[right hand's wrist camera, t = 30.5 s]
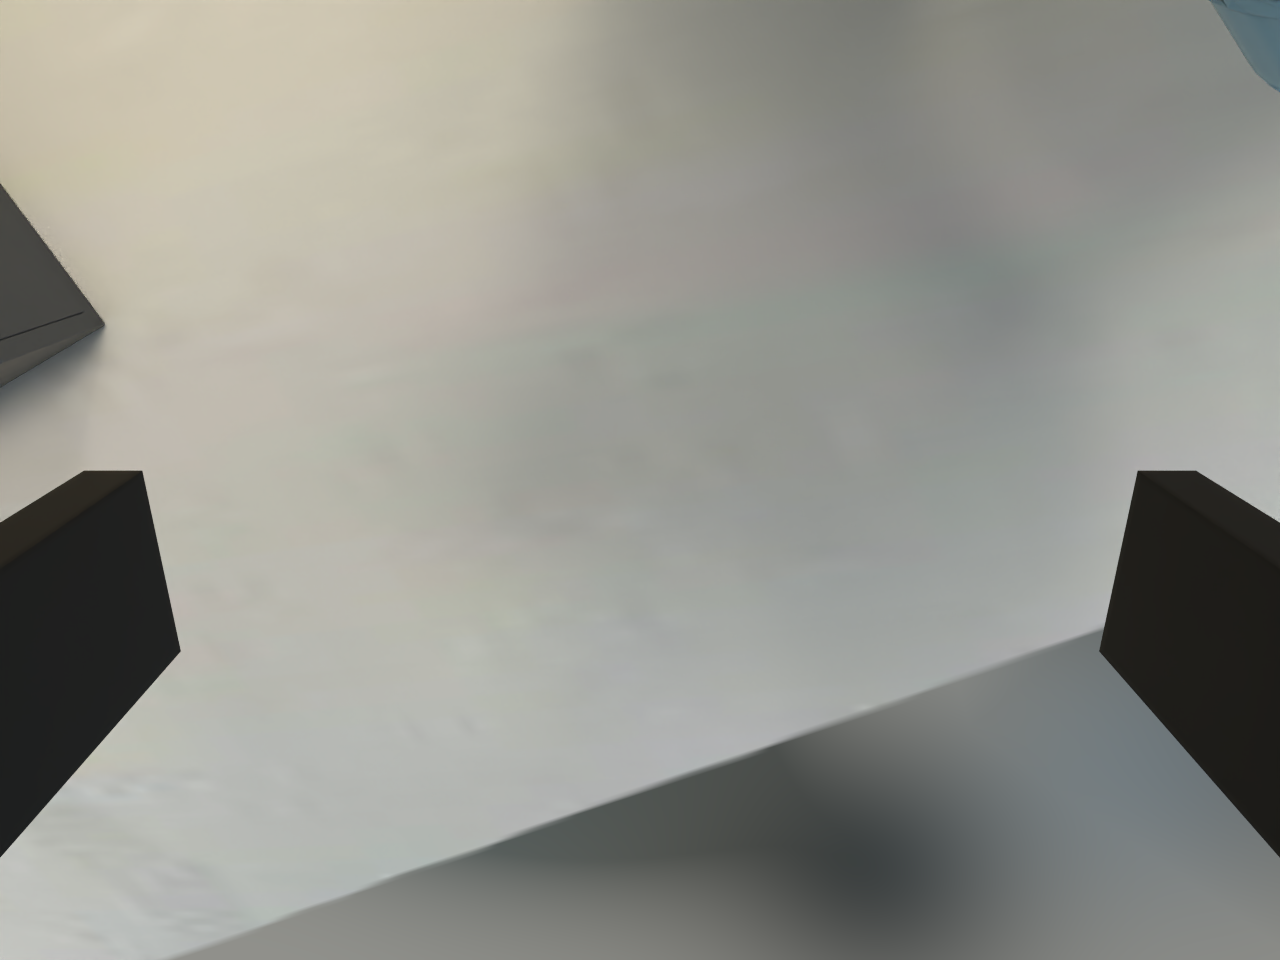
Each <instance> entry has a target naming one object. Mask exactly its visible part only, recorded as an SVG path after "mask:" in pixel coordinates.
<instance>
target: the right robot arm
mask: <svg viewBox="0 0 1280 960" xmlns="http://www.w3.org/2000/svg"><path fill="white" fill-rule="evenodd" d="M1209 1H1211V3H1212V4H1213V6H1214V8H1215V9H1216V11H1217V13H1218V14H1219V16H1220V17H1221V19H1222V21H1223V22H1224V24H1225V25H1226V27H1227V29H1228V30H1229V32H1230V34H1231V35H1232V37H1233V38H1234V40H1235V42H1236V43H1237V45H1238V47H1239V48H1240V50H1241V51H1242V53H1243V55H1244V56H1245V58H1246V59H1247V61H1248V63H1249V64H1250V66H1251V67H1252V68H1253V70H1254V71H1255V73H1256V74H1257V75H1258V76H1259V77H1261V78H1262V79H1263V80H1264V81H1265V82H1266V83H1267V84H1268V85H1269V86H1271V87H1272V88H1274V89H1275V90H1277V91H1279V92H1280V0H1209ZM180 651H181V650H180V646H179V641H178V636H177V632H176V627H175V622H174V617H173V613H172V608H171V603H170V599H169V594H168V589H167V585H166V580H165V575H164V571H163V566H162V561H161V556H160V552H159V547H158V542H157V538H156V533H155V528H154V524H153V519H152V514H151V510H150V505H149V500H148V496H147V491H146V486H145V481H144V477H143V472H142V471H83V472H81V473H80V474H78V475H76V476H75V477H73V478H72V479H70V480H68V481H67V482H65V483H64V484H62V485H60V486H59V487H57V488H55V489H54V490H52V491H51V492H49V493H47V494H46V495H44V496H43V497H41V498H39V499H38V500H36V501H34V502H33V503H31V504H30V505H28V506H26V507H25V508H23V509H22V510H20V511H18V512H17V513H15V514H13V515H12V516H10V517H9V518H7V519H5V520H4V521H2V522H1V523H0V857H1V856H2V855H3V854H4V853H5V851H6V850H7V849H8V848H9V847H10V846H11V845H12V843H13V842H14V841H15V840H16V839H17V838H18V837H19V835H20V834H21V833H22V832H23V831H24V830H25V829H26V827H27V826H28V825H29V824H30V823H31V822H32V821H33V819H34V818H35V817H36V816H37V815H38V814H39V813H40V811H41V810H42V809H43V808H44V807H45V806H46V805H47V803H48V802H49V801H50V800H51V799H52V798H53V797H54V795H55V794H56V793H57V792H58V791H59V790H60V789H61V787H62V786H63V785H64V784H65V783H66V782H67V781H68V779H69V778H70V777H71V776H72V775H73V774H74V773H75V771H76V770H77V769H78V768H79V767H80V766H81V765H82V763H83V762H84V761H85V760H86V759H87V758H88V757H89V755H90V754H91V753H92V752H93V751H94V750H95V749H96V747H97V746H98V745H99V744H100V743H101V742H102V741H103V739H104V738H105V737H106V736H107V735H108V734H109V733H110V731H111V730H112V729H113V728H114V727H115V726H116V725H117V723H118V722H119V721H120V720H121V719H122V718H123V717H124V715H125V714H126V713H127V712H128V711H129V710H130V709H131V707H132V706H133V705H134V704H135V703H136V702H137V701H138V699H139V698H140V697H141V696H142V695H143V694H144V693H145V691H146V690H147V689H148V688H149V687H150V686H151V685H152V683H153V682H154V681H155V680H156V679H157V678H158V677H159V675H160V674H161V673H162V672H163V671H164V670H165V669H166V667H167V666H168V665H169V664H170V663H171V662H172V661H173V659H174V658H175V657H176V656H177V655H178V654H179V653H180ZM1099 651H1100V653H1101V654H1102V655H1103V656H1104V657H1105V658H1106V659H1107V661H1108V662H1109V663H1110V664H1111V665H1112V666H1113V667H1114V669H1115V670H1116V671H1117V672H1118V673H1119V674H1120V675H1121V677H1122V678H1123V679H1124V680H1125V681H1126V682H1127V683H1128V685H1129V686H1130V687H1131V688H1132V689H1133V690H1134V691H1135V693H1136V694H1137V695H1138V696H1139V697H1140V698H1141V699H1142V701H1143V702H1144V703H1145V704H1146V705H1147V706H1148V707H1149V709H1150V710H1151V711H1152V712H1153V713H1154V714H1155V715H1156V717H1157V718H1158V719H1159V720H1160V721H1161V722H1162V723H1163V725H1164V726H1165V727H1166V728H1167V729H1168V730H1169V731H1170V733H1171V734H1172V735H1173V736H1174V737H1175V738H1176V739H1177V741H1178V742H1179V743H1180V744H1181V745H1182V746H1183V747H1184V749H1185V750H1186V751H1187V752H1188V753H1189V754H1190V755H1191V757H1192V758H1193V759H1194V760H1195V761H1196V762H1197V763H1198V765H1199V766H1200V767H1201V768H1202V769H1203V770H1204V771H1205V773H1206V774H1207V775H1208V776H1209V777H1210V778H1211V779H1212V781H1213V782H1214V783H1215V784H1216V785H1217V786H1218V787H1219V789H1220V790H1221V791H1222V792H1223V793H1224V794H1225V795H1226V797H1227V798H1228V799H1229V800H1230V801H1231V802H1232V803H1233V805H1234V806H1235V807H1236V808H1237V809H1238V810H1239V811H1240V813H1241V814H1242V815H1243V816H1244V817H1245V818H1246V819H1247V821H1248V822H1249V823H1250V824H1251V825H1252V826H1253V827H1254V829H1255V830H1256V831H1257V832H1258V833H1259V834H1260V835H1261V837H1262V838H1263V839H1264V840H1265V841H1266V842H1267V843H1268V845H1269V846H1270V847H1271V848H1272V849H1273V850H1274V851H1275V853H1276V854H1277V855H1278V856H1279V857H1280V523H1279V522H1278V521H1276V520H1275V519H1273V518H1271V517H1270V516H1268V515H1267V514H1265V513H1263V512H1262V511H1260V510H1258V509H1257V508H1255V507H1254V506H1252V505H1250V504H1249V503H1247V502H1246V501H1244V500H1242V499H1241V498H1239V497H1237V496H1236V495H1234V494H1233V493H1231V492H1229V491H1228V490H1226V489H1225V488H1223V487H1221V486H1220V485H1218V484H1216V483H1215V482H1213V481H1212V480H1210V479H1208V478H1207V477H1205V476H1204V475H1202V474H1200V473H1199V472H1197V471H1138V472H1137V477H1136V481H1135V486H1134V491H1133V496H1132V500H1131V505H1130V510H1129V514H1128V519H1127V524H1126V528H1125V533H1124V538H1123V542H1122V547H1121V552H1120V556H1119V561H1118V566H1117V571H1116V575H1115V580H1114V585H1113V589H1112V594H1111V599H1110V603H1109V608H1108V613H1107V617H1106V622H1105V627H1104V632H1103V636H1102V641H1101V646H1100V650H1099Z"/></svg>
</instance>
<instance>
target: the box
mask: <svg viewBox="0 0 1280 960" xmlns="http://www.w3.org/2000/svg"><path fill="white" fill-rule="evenodd" d="M102 326H104V322H103V321H102V320H101V318H100V317H99V316H98V314H97V313H96V312H95V310H94V309H93V307H92V306H91V305H90V303H89V302H88V301H87V299H86V298H85V297H84V295H83V294H82V293H81V291H80V290H79V289H78V287H77V286H76V285H75V283H74V282H73V281H72V279H71V278H70V277H69V275H68V274H67V273H66V271H65V270H64V269H63V267H62V266H61V265H60V263H59V262H58V261H57V259H56V258H55V257H54V255H53V254H52V253H51V251H50V250H49V249H48V247H47V246H46V245H45V243H44V242H43V241H42V239H41V238H40V237H39V235H38V234H37V233H36V231H35V230H34V229H33V227H32V226H31V225H30V223H29V222H28V221H27V219H26V218H25V217H24V215H23V214H22V213H21V211H20V210H19V209H18V207H17V206H16V205H15V203H14V202H13V201H12V199H11V198H10V197H9V195H8V194H7V193H6V191H5V190H4V189H3V187H2V186H1V185H0V387H2V386H3V385H5V384H7V383H8V382H10V381H12V380H13V379H15V378H17V377H18V376H20V375H22V374H23V373H25V372H27V371H28V370H30V369H32V368H33V367H35V366H37V365H39V364H40V363H42V362H44V361H45V360H47V359H49V358H50V357H52V356H54V355H55V354H57V353H59V352H60V351H62V350H64V349H65V348H67V347H69V346H70V345H72V344H74V343H75V342H77V341H79V340H80V339H82V338H84V337H85V336H87V335H89V334H91V333H92V332H94V331H96V330H97V329H99V328H101V327H102Z"/></svg>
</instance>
